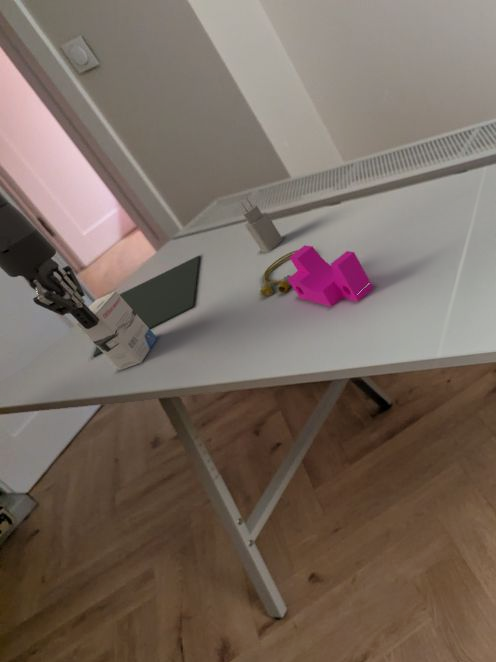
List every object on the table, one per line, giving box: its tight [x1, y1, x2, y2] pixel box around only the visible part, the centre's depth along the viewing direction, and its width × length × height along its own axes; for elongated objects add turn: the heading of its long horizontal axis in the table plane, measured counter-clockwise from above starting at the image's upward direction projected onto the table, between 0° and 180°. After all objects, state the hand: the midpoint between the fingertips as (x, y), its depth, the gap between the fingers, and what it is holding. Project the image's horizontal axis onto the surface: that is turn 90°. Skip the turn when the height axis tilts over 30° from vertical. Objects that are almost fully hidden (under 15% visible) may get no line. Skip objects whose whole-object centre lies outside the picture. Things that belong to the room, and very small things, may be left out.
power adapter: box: [240, 197, 284, 253], centre depth 121 cm, size 3×5×12 cm, turn 158°
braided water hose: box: [260, 249, 299, 298], centre depth 109 cm, size 12×16×2 cm
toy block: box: [288, 244, 374, 307], centre depth 93 cm, size 15×6×8 cm, turn 51°
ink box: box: [74, 291, 158, 371], centre depth 101 cm, size 8×5×12 cm, turn 6°
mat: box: [93, 255, 201, 358], centre depth 123 cm, size 30×22×1 cm
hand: (93, 325), depth 93 cm, fingers closed
